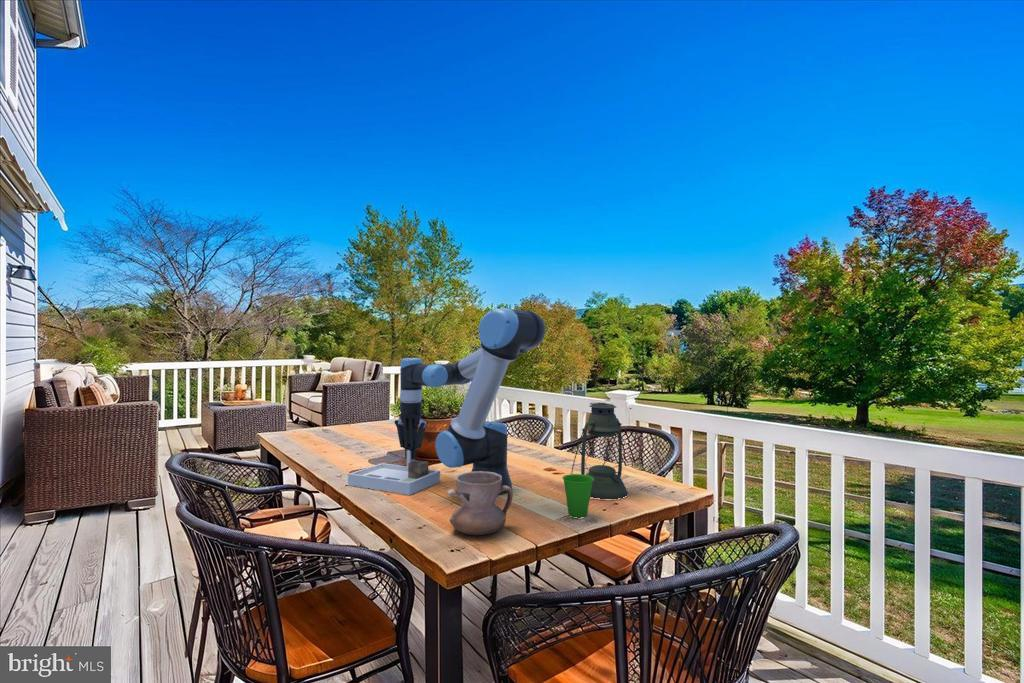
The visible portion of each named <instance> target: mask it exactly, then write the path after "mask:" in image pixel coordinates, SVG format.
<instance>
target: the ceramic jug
mask: <svg viewBox="0 0 1024 683" xmlns="http://www.w3.org/2000/svg"><path fill="white" fill-rule="evenodd" d="M501 483H502V476H501V475H500V474H497V473H494V472H483V471H478V472H477V471H475V472H471V471H468V472H463V473H461V474H458V475H457V476H456V477H455V484H456V489H455V488H451V489H448V490H447V491H446V492H447V494H448V496H449V497H450V496H456V497H458V498H460V499H461V502H462V505H460V506H459V507H458V508H456V509H455V510H454V511H453V512H452V515H451V516H450V517H449V523H450V524H451V525H452V527H453V528H454V529H455V530H456V531H458V532H460V533H462V534H464V535H465V534H466V535H470V536H485V535H490V534H493V533H495V532H497V531H499V530H501V529H502V528H503V527H504V526H505V524H506V521H507V513H508V510H509V508H510V507H511V504H512V502H513V496H514V495H513V490H512V489H513V488H512V489H511V488H510V487H509V486H506V485H504V486H501ZM502 491H507V493H506V494H507V498H506V501H505V503H504V506H503V508H502V509H501V508H500V507H499V506H498V505H496V504H495V502H496V500H497V498H498V496H499V495H498V494H500V493H501V492H502Z"/></svg>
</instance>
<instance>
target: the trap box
mask: <svg viewBox="0 0 1024 683" xmlns="http://www.w3.org/2000/svg"><path fill="white" fill-rule="evenodd" d="M438 482H439V483H441V470H435V469H430V468H428V475H426V476H423V477H421V478H418V479H414V478H408V469H407V465H399V464H393V463H385V462H382V463H379V464H378V463H377V464H374V465H372V466H368V467H365V468H363V469H360V470H357V471H353V472H350V473H347V486H348V485H350V486H349V487H354V486H356V488H360V487H363V488H362V489H366V488H370V489H369V490H372V489H376V490H375V491H378V490H383V491H382V492H384V491H389V492H388V493H390V492H395V493H394V494H396V493H400V494H399V495H402V494H406V495H405V496H408V495H410V496H411V494H412V495H414V494H416V492H417V493H419V492H421V491H423V490H425V488H426V489H428V488H430V487H432V486H435V485H436V483H437V484H439V483H438ZM434 484H435V485H434ZM429 486H430V487H429ZM427 487H428V488H427ZM422 489H423V490H422ZM420 490H421V491H420ZM418 491H419V492H418ZM413 493H414V494H413Z"/></svg>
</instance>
